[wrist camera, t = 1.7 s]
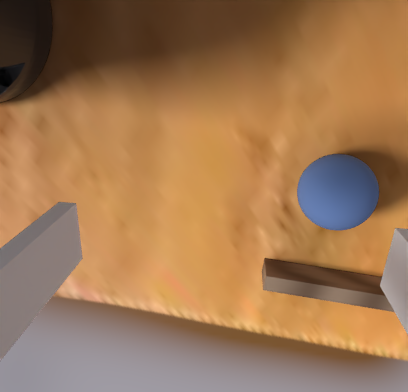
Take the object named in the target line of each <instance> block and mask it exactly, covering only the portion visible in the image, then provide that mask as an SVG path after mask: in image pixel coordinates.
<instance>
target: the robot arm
mask: <svg viewBox="0 0 408 392" xmlns="http://www.w3.org/2000/svg"><path fill="white" fill-rule="evenodd" d="M51 38H52V12H51V5H50V0H0V102H4V101H7V100H10V99H12V98H14V97H16V96H18V95H20V94H21V93H22V92H24V91H25V90H26V89H27V88H29V87H30V86H31V84H32V83H33V82H34V81H35V80H36V79H37V77H38V76H39V74H40V72H41V71H42V69H43V67H44V64H45V62H46V59H47V57H48V53H49V50H50V45H51ZM81 260H82V250H81V241H80V232H79V224H78V215H77V207H76V203H66V202H58V203H57V204H56V205H55V206H53V207H52V208H51V209H50V210H48V211H47V212H46V213H45V214H43V215H42V216H41V217H39V218H38V219H37V220H36V221H34V222H33V223H32V224H31V225H29V226H28V227H27V228H26V229H24V230H23V231H22V232H21V233H19V234H18V235H17V236H15V237H14V238H13V239H12V240H10V241H9V242H8V243H7V244H5V245H4V246H3V247H2V248H0V360H2V358H3V357H4V356H5V355H6V353H7V352H8V351H9V350H10V348H11V347H12V346H13V345H14V343H15V342H16V341H17V340H18V338H19V337H20V336H21V335H22V333H23V332H24V331H25V330H26V328H27V327H28V326H29V325H30V323H31V322H32V321H33V320H34V318H35V317H36V316H37V315H38V313H39V312H40V311H41V310H42V308H43V307H44V306H45V305H46V303H47V302H48V301H49V300H50V298H51V297H52V296H53V295H54V293H55V292H56V291H57V290H58V288H59V287H60V286H61V285H62V283H63V282H64V281H65V280H66V278H67V277H68V276H69V275H70V273H71V272H72V271H73V270H74V268H75V267H76V266H77V265H78V263H79V262H80V261H81ZM380 287H381V289H382V290H383V292H384V294H385V296H386V297H387V299H388V301H389V303H390V304H391V306H392V308H393V310H394V311H395V313H396V315H397V317H398V318H399V320H400V322H401V324H402V325H403V327H404V329H405V331H406V332H407V334H408V229H401V228H395V232H394V235H393V239H392V243H391V246H390V250H389V254H388V257H387V261H386V265H385V269H384V272H383V276H382V280H381V283H380Z"/></svg>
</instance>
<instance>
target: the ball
mask: <svg viewBox="0 0 408 392" xmlns="http://www.w3.org/2000/svg"><path fill="white" fill-rule="evenodd" d="M297 196H298V201H299V205H300V207H301V209H302V211H303V212H304V214H305V215H306V216H307V217H308V218H309V219H310V220H311V221H312V222H313V223H315V224H316V225H318V226H320V227H323V228H326V229H330V230H347V229H351V228H353V227H356V226H358V225H360V224H361V223H363V222H364V221H365V220H367V219H368V218H369V217H370V215H371V214H372V213H373V211H374V209H375V207H376V205H377V202H378V198H379V186H378V182H377V179H376V176H375V175H374V173H373V171H372V170H371V169H370V168H369V166H368V165H366V164H365V163H364V162H363V161H361V160H360V159H358V158H356V157H353V156H350V155H345V154H332V155H327V156H324V157H321V158H319V159H317V160H316V161H314V162H313V163H311V164H310V165H309V166H308V167H307V168H306V169H305V171H304V172H303V174H302V175H301V177H300V180H299V183H298V189H297Z"/></svg>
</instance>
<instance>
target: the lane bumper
mask: <svg viewBox="0 0 408 392" xmlns="http://www.w3.org/2000/svg"><path fill="white" fill-rule="evenodd" d="M262 280H263V290H267V291H272V292H278V293H284V294H290V295H296V296H302V297H308V298H314V299H320V300H326V301H332V302H338V303H344V304H350V305H356V306H362V307H368V308H374V309H380V310H386V311H392V312H395V311H394V310H393V308H392V306H391V304H390V303H389V301H388V299H387V297H386V296H385V294H384V292H383V290H382V289H381V287H380V283H381V280H382V277H377V276H371V275H365V274H359V273H352V272H346V271H340V270H334V269H328V268H321V267H315V266H309V265H303V264H297V263H290V262H284V261H278V260H272V259H266V258H265V259H264V264H263V269H262Z"/></svg>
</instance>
